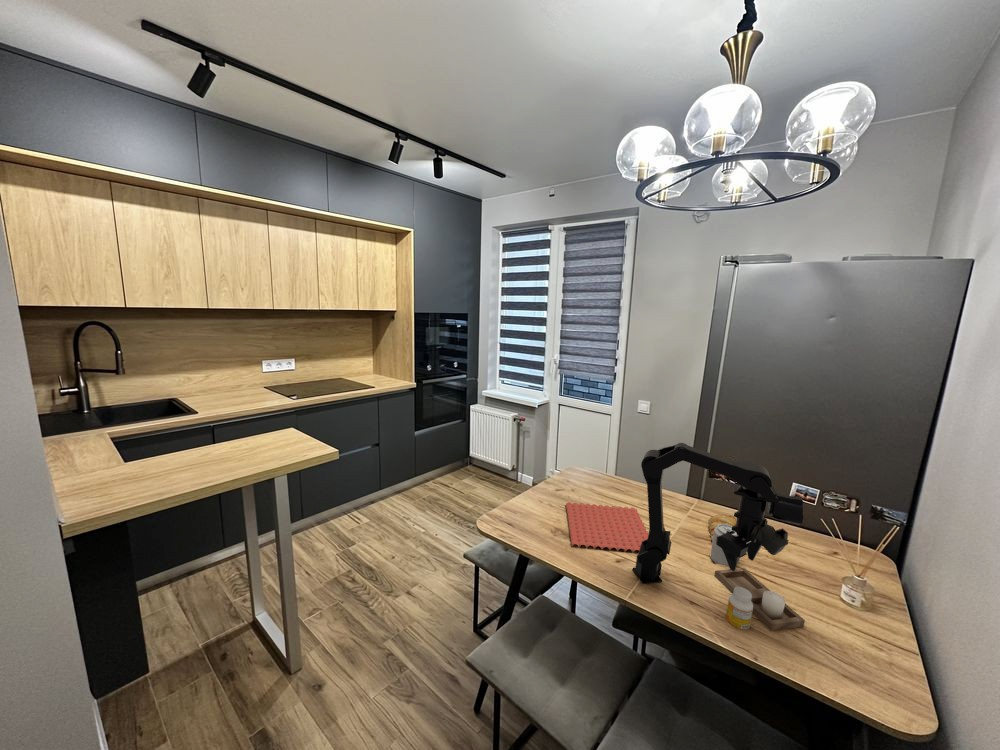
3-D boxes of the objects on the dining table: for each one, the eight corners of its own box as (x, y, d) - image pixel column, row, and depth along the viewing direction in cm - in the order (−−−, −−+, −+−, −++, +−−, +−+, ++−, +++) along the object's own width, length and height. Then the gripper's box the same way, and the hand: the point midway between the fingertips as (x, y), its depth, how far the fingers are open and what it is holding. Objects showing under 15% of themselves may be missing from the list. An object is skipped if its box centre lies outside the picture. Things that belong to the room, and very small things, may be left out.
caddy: (769, 634, 97) (771, 624, 97) (713, 579, 117) (715, 570, 116) (802, 630, 99) (805, 620, 98) (742, 576, 118) (743, 567, 118)
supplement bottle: (727, 612, 104) (732, 581, 102) (750, 623, 101) (756, 591, 99) (723, 625, 100) (728, 592, 98) (747, 637, 96) (753, 603, 95)
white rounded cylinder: (771, 621, 100) (774, 605, 99) (756, 607, 105) (758, 591, 104) (786, 619, 101) (790, 603, 100) (771, 605, 105) (774, 589, 104)
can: (723, 571, 120) (728, 537, 118) (704, 556, 128) (709, 523, 125) (741, 567, 122) (747, 533, 120) (722, 553, 130) (727, 520, 127)
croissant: (721, 557, 133) (736, 544, 129) (695, 534, 138) (709, 520, 134) (737, 532, 148) (751, 519, 144) (713, 512, 153) (726, 499, 149)
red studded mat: (635, 512, 155) (636, 507, 154) (656, 557, 127) (656, 551, 127) (565, 506, 157) (566, 501, 157) (571, 549, 130) (571, 543, 129)
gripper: (766, 538, 89) (755, 596, 92) (803, 518, 99) (792, 572, 102) (719, 515, 99) (710, 568, 102) (757, 499, 108) (748, 548, 111)
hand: (741, 564), depth 104 cm, fingers open, 9 cm apart
